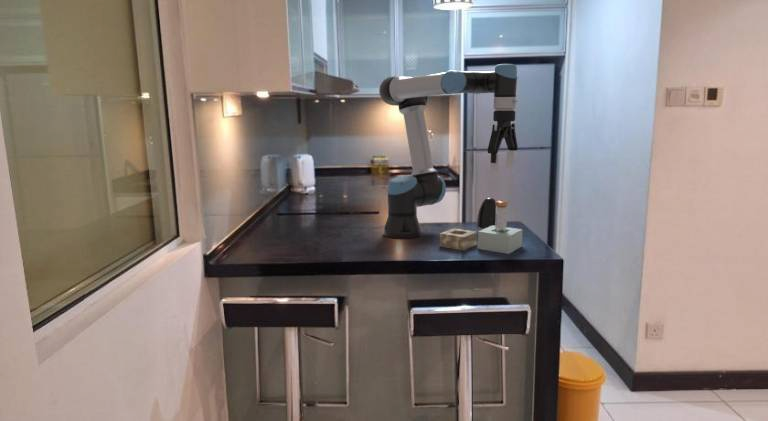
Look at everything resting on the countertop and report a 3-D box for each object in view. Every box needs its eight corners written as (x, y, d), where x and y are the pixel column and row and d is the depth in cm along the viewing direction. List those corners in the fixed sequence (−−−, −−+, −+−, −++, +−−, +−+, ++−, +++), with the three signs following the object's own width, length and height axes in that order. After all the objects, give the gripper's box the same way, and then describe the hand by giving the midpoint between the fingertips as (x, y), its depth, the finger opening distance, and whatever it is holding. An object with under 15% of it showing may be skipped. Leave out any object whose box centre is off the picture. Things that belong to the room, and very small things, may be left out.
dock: (477, 248, 189) (478, 231, 188) (492, 241, 199) (492, 225, 198) (508, 253, 182) (509, 236, 181) (521, 246, 192) (522, 229, 191)
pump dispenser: (502, 238, 204) (503, 200, 201) (475, 236, 206) (476, 199, 203) (501, 231, 214) (503, 195, 211) (476, 230, 216) (477, 195, 213)
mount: (440, 246, 193) (440, 233, 192) (453, 240, 201) (453, 228, 200) (464, 250, 187) (464, 237, 186) (476, 244, 195) (476, 231, 194)
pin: (491, 248, 190) (493, 202, 187) (496, 245, 194) (498, 200, 190) (503, 249, 188) (504, 203, 184) (507, 247, 191) (509, 201, 188)
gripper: (499, 110, 169) (497, 174, 173) (528, 109, 188) (525, 167, 193) (478, 110, 173) (476, 173, 177) (508, 109, 193) (506, 166, 197)
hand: (502, 170), depth 185 cm, fingers open, 13 cm apart
